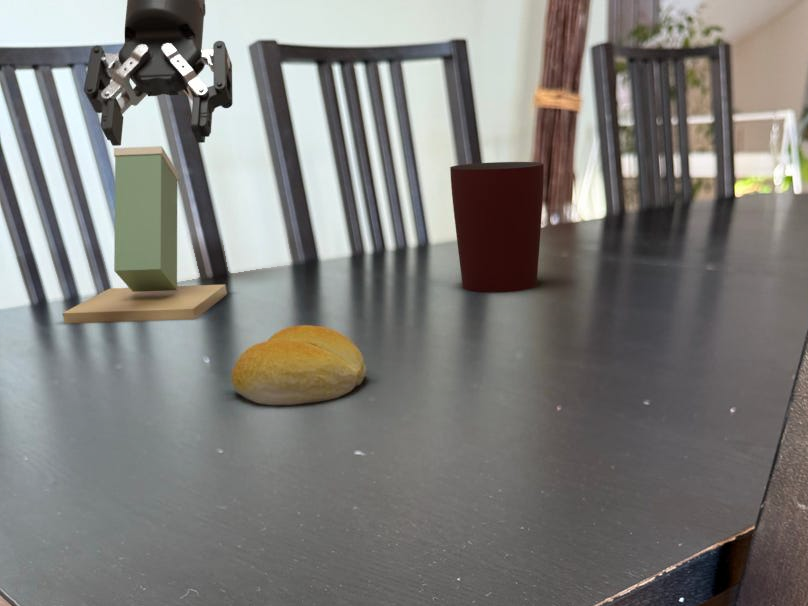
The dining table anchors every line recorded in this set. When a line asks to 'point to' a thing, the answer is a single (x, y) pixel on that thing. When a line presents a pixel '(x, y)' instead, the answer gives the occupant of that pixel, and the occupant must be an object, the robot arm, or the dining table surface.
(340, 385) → the bread roll
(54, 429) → the dining table surface
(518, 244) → the mug
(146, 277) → the post
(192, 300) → the post base
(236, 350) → the dining table surface
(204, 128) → the robot arm
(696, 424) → the dining table surface
